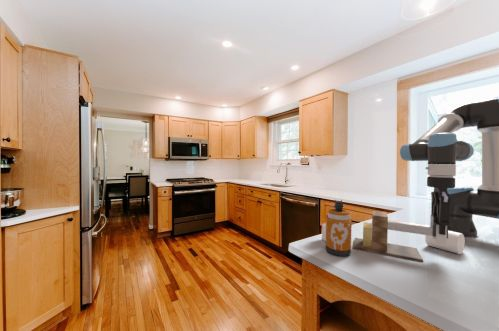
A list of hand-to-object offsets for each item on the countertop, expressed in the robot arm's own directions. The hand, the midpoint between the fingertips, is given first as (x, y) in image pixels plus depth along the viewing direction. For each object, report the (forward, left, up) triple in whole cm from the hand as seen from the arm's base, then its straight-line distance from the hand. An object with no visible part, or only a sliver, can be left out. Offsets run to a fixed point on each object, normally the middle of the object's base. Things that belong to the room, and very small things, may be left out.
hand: (439, 240), depth 76 cm
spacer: (+23, 0, -2) cm, 23 cm away
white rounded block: (-6, -15, -7) cm, 17 cm away
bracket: (+16, 0, -7) cm, 18 cm away
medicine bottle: (+35, +2, -7) cm, 36 cm away
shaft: (+8, 0, +2) cm, 8 cm away
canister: (+32, +12, -7) cm, 35 cm away
